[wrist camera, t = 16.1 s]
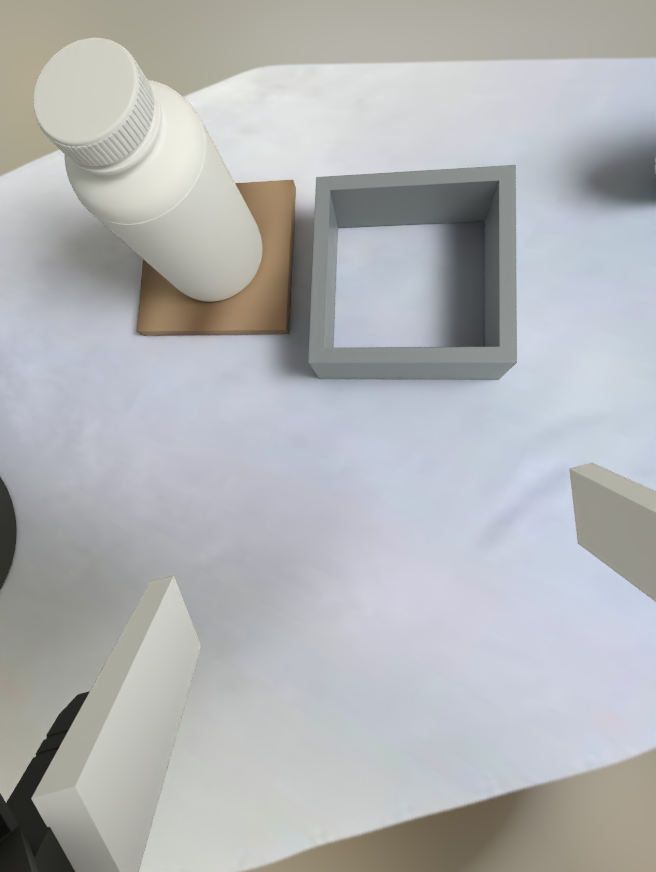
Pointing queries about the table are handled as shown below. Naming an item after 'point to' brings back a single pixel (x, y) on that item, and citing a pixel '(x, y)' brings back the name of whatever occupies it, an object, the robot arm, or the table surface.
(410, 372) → the sleeve
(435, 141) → the table surface
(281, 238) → the pad
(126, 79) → the pill bottle
